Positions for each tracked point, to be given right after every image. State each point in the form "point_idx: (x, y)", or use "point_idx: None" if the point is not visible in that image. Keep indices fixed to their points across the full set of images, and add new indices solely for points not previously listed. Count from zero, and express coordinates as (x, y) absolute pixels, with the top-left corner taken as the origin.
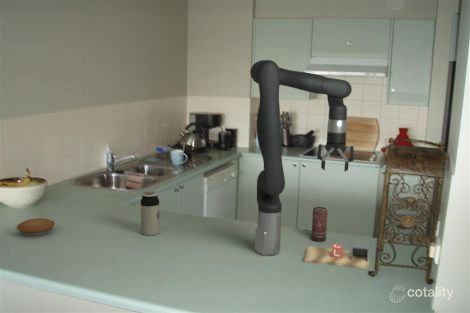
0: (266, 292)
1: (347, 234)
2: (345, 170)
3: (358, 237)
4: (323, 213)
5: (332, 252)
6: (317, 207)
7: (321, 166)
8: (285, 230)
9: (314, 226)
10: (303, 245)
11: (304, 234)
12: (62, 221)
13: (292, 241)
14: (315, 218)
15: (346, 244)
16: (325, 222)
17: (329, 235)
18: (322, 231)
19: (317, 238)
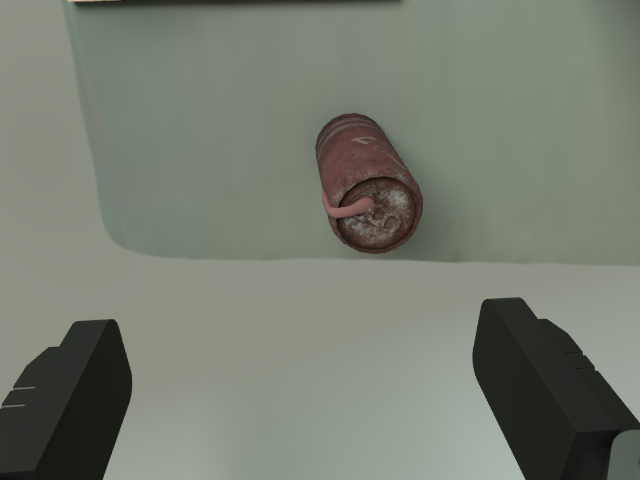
0: None
1: (226, 256)
2: (84, 329)
3: (171, 235)
4: (350, 170)
5: None
6: (396, 244)
7: (572, 345)
8: (506, 216)
9: (386, 142)
10: (420, 37)
11: None
12: None
13: (476, 78)
14: (393, 156)
15: (210, 125)
16: (329, 163)
17: (304, 218)
18: (337, 133)
19: (356, 116)
